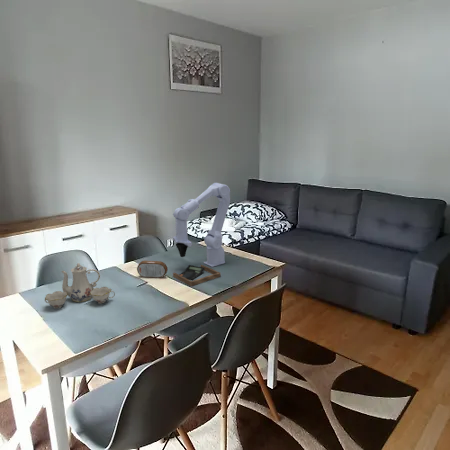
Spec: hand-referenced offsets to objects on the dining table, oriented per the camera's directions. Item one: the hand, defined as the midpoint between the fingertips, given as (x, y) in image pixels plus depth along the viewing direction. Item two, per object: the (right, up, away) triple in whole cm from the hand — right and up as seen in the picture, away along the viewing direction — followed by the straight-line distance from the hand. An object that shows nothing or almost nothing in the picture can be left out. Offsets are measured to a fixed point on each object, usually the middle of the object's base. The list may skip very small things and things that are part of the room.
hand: (182, 256), depth 192 cm
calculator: (+5, -9, -4) cm, 11 cm away
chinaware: (-40, -17, -32) cm, 54 cm away
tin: (-14, -10, -7) cm, 19 cm away
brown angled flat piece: (+8, -9, -7) cm, 14 cm away
